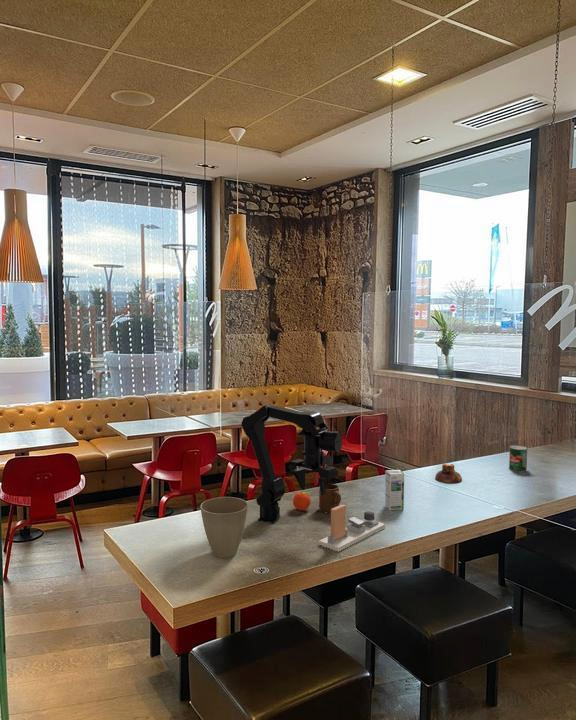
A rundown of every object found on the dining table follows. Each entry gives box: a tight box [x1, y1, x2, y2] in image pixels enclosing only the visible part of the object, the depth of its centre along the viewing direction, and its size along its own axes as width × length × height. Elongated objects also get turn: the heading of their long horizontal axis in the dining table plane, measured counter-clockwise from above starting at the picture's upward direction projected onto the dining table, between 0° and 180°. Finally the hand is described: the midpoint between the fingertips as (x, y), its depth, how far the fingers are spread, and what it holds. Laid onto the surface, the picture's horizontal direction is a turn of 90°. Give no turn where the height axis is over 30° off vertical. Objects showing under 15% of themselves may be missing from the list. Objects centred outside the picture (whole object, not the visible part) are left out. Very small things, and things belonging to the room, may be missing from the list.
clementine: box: [292, 491, 312, 511], centre depth 219 cm, size 8×7×7 cm
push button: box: [363, 510, 375, 521], centre depth 201 cm, size 4×4×2 cm
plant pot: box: [199, 496, 249, 559], centre depth 180 cm, size 15×15×16 cm
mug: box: [318, 483, 342, 514], centre depth 217 cm, size 12×8×9 cm, turn 25°
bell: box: [434, 463, 463, 484], centre depth 259 cm, size 12×12×7 cm
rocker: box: [347, 516, 364, 527], centre depth 195 cm, size 4×3×1 cm
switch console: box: [318, 518, 386, 553], centre depth 194 cm, size 8×27×4 cm, turn 138°
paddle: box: [330, 504, 347, 541], centre depth 188 cm, size 2×6×11 cm, turn 138°
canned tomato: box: [508, 444, 528, 473], centre depth 274 cm, size 8×8×11 cm
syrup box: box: [384, 469, 405, 511], centre depth 222 cm, size 6×6×14 cm
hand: (312, 492), depth 199 cm, fingers open, 9 cm apart
